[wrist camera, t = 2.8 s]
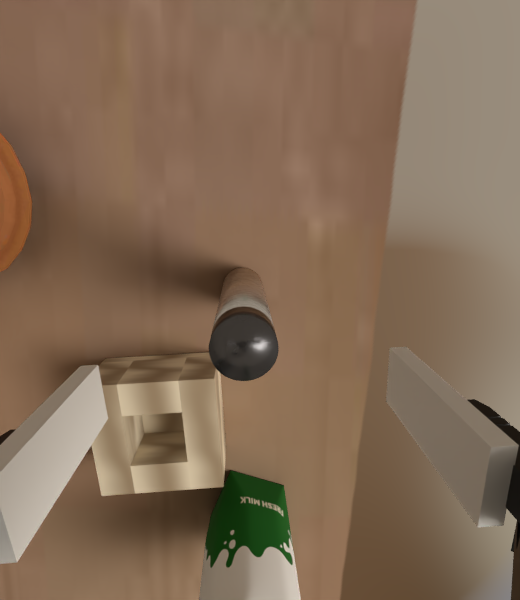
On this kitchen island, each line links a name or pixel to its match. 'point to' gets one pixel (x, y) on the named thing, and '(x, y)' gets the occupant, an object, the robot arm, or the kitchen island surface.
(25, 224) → the pie
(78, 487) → the kitchen island surface
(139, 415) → the birch socket block
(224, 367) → the steel peg
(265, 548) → the milk carton
